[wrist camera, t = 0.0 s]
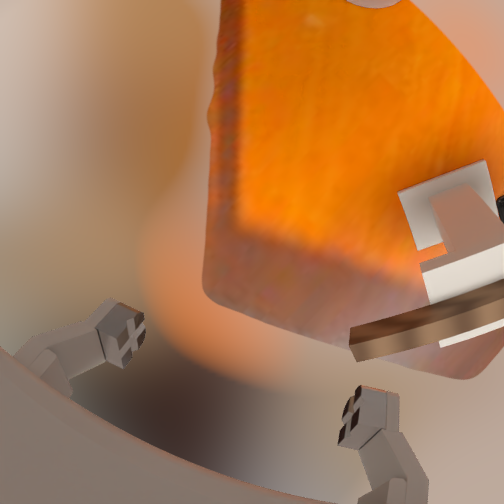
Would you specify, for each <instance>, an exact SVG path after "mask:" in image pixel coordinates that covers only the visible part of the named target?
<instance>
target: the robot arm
mask: <svg viewBox="0 0 504 504" xmlns="http://www.w3.org/2000/svg"><path fill="white" fill-rule="evenodd" d="M347 1H349V2H351V3H353V4H355V5H358V6H362V7H367V8H384V7H388V6H392V5H394V4H396V3H398V2H399V1H401V0H347ZM143 321H144V313H142V312H140V311H138V310H136V309H134V308H132V307H130V306H127V305H125V304H123V303H121V302H119V301H117V300H115V299H113V298H108V299H106V300H105V301H104V302H103V303H102V304H101V305H100V306H99V307H98V308H97V309H96V310H95V311H94V312H93V313H92V314H91V315H90V316H89V318H87V320H86V321H85V322H82V321H80V322H77V323H74V324H70V325H67V326H64V327H61V328H58V329H55V330H51V331H49V332H45V333H42V334H39V335H36V336H32V337H31V338H30V339H29V340H28V341H27V342H26V343H25V344H24V345H23V347H21V349H20V350H19V351H18V352H17V353H16V354H15V355H14V356H13V357H12V356H11V355H10V354H9V353H8V352H6V351H5V350H4V349H3V348H2V347H1V346H0V504H336V503H330V502H325V501H319V500H314V499H309V498H304V497H299V496H295V495H291V494H287V493H283V492H279V491H275V490H271V489H267V488H264V487H260V486H256V485H253V484H250V483H247V482H243V481H240V480H237V479H234V478H231V477H228V476H225V475H222V474H219V473H217V472H214V471H211V470H209V469H206V468H203V467H201V466H198V465H196V464H193V463H191V462H188V461H186V460H183V459H181V458H179V457H176V456H174V455H172V454H170V453H167V452H165V451H163V450H161V449H158V448H156V447H154V446H152V445H150V444H148V443H146V442H144V441H142V440H140V439H138V438H136V437H134V436H132V435H130V434H128V433H126V432H125V431H123V430H121V429H119V428H117V427H115V426H114V425H112V424H110V423H108V422H106V421H105V420H103V419H101V418H100V417H98V416H96V415H94V414H93V413H91V412H90V411H88V410H86V409H85V408H83V407H81V406H80V405H78V404H77V403H75V402H74V401H72V400H71V399H69V397H70V396H71V394H72V393H73V389H72V387H71V385H70V383H69V381H68V380H69V379H71V378H73V377H75V376H77V375H79V374H81V373H83V372H85V371H87V370H89V369H91V368H94V367H96V366H97V365H100V364H102V363H104V362H105V360H106V361H108V362H110V363H112V364H114V365H117V366H118V367H121V368H122V369H124V368H125V367H126V365H127V364H128V363H129V361H130V360H131V358H132V352H133V351H135V350H138V349H139V348H140V346H141V345H142V343H143V341H144V339H145V334H146V329H145V326H144V325H143V323H142V322H143ZM342 421H343V423H344V426H343V427H342V429H341V430H340V433H339V439H338V446H342V447H346V448H351V449H355V450H359V451H358V453H359V455H360V458H361V461H362V463H363V466H364V469H365V471H366V474H367V477H368V480H369V482H370V485H371V488H372V491H371V492H369V493H367V494H365V495H363V496H362V497H360V498H359V499H358V503H357V504H427V502H428V501H427V500H428V485H429V480H428V478H427V476H426V474H425V472H424V471H423V469H422V467H421V465H420V463H419V462H418V460H417V458H416V456H415V454H414V452H413V451H412V449H411V447H410V446H409V444H408V442H407V440H406V439H405V437H404V435H403V433H401V432H399V395H398V394H397V393H393V392H388V391H384V390H380V389H376V388H371V387H367V386H362V385H360V386H358V387H357V389H356V390H355V395H354V396H352V397H350V398H349V400H348V401H347V403H346V405H345V408H344V411H343V415H342Z"/></svg>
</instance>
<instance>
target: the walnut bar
mask: <svg viewBox="0 0 504 504" xmlns="http://www.w3.org/2000/svg"><path fill="white" fill-rule="evenodd" d="M501 319H504V279H501V280H499V281H496V282H494V283H491V284H488V285H486V286H483V287H480V288H478V289H475V290H472V291H469V292H467V293H464V294H461V295H458V296H455V297H452V298H449V299H446V300H443V301H440V302H437V303H434V304H431V305H428V306H425V307H422V308H419V309H416V310H412V311H409V312H406V313H402V314H399V315H396V316H392V317H389V318H385V319H382V320H378V321H374V322H371V323H367V324H363V325H360V326H356V327H352V328H350V339H349V347H350V349H351V351H352V353H353V355H354V357H355V359H356V361H357V362H360V361H365V360H369V359H373V358H378V357H382V356H386V355H390V354H394V353H398V352H401V351H405V350H409V349H413V348H416V347H420V346H423V345H427V344H430V343H434V342H437V341H440V340H443V339H447V338H450V337H453V336H456V335H459V334H462V333H465V332H468V331H471V330H474V329H477V328H480V327H482V326H485V325H488V324H491V323H493V322H496V321H499V320H501Z"/></svg>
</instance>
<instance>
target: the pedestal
mask: <svg viewBox="0 0 504 504" xmlns="http://www.w3.org/2000/svg"><path fill="white" fill-rule="evenodd" d="M397 193H398V195H399V198H400V201H401V203H402V206H403V209H404V211H405V214H406V217H407V220H408V223H409V226H410V229H411V231H412V234H413V237H414V241H415V244H416V247H417V250H418V251H419V250H422V249H424V248H427V247H430V246H433V245H436V244H438V243H441V242H444V245H445V247H446V249H447V252H448V253H447V254H444V255H442V256H439V257H436V258H433V259H430V260H427V261H425V262H422V263H419V264H420V267H421V271H422V275H423V278H424V282H425V286H426V289H427V293H428V297H429V301H430V304H434V303H437V302H440V301H443V300H446V299H449V298H452V297H455V296H458V295H461V294H464V293H467V292H469V291H472V290H475V289H478V288H480V287H483V286H486V285H488V284H491V283H494V282H496V281H499V280H501V279H504V224H503V222H502V221H501V220H500V219H499V216H498V211H497V206H496V201H495V196H494V192H493V187H492V183H491V179H490V175H489V171H488V167H487V164H486V160H484V159H483V160H480V161H477V162H475V163H472V164H469V165H467V166H464V167H461V168H459V169H456V170H453V171H451V172H448V173H446V174H443V175H440V176H438V177H435V178H432V179H430V180H427V181H424V182H422V183H419V184H417V185H414V186H411V187H409V188H406V189H403V190H401V191H398V192H397ZM503 326H504V319H501V320H499V321H496V322H493V323H491V324H488V325H485V326H482V327H480V328H477V329H474V330H471V331H468V332H465V333H462V334H459V335H456V336H453V337H450V338H447V339H443V340H440V341H439V344H440V348H441V347H445V346H448V345H451V344H454V343H457V342H460V341H463V340H466V339H469V338H472V337H475V336H478V335H481V334H484V333H487V332H489V331H492V330H495V329H497V328H500V327H503Z"/></svg>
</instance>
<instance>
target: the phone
mask: <svg viewBox="0 0 504 504" xmlns="http://www.w3.org/2000/svg"><path fill="white" fill-rule="evenodd" d="M496 205H497V209H498V212H499V217H500V219H501V221H502V222H503V224H504V195H503V196H501V197H499V198H498V199H497V201H496Z"/></svg>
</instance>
